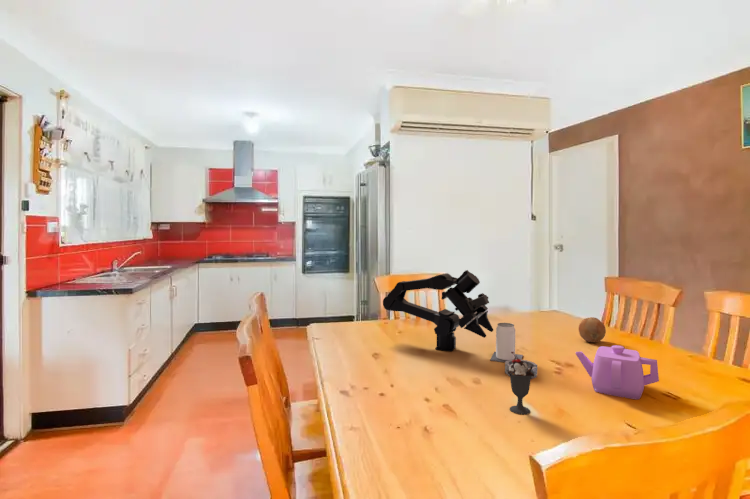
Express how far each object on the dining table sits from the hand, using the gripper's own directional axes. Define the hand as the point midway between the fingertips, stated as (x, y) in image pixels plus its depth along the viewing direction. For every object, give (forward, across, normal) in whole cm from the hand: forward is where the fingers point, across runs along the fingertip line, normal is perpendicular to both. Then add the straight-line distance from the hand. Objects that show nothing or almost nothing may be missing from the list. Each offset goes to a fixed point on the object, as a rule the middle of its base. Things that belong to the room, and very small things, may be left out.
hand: (489, 334), depth 150 cm
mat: (+10, 0, +1) cm, 10 cm away
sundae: (+19, -41, -8) cm, 46 cm away
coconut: (+27, +38, -16) cm, 50 cm away
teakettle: (+34, -11, -23) cm, 42 cm away
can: (+10, -1, +1) cm, 10 cm away
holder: (+15, -13, -4) cm, 21 cm away
